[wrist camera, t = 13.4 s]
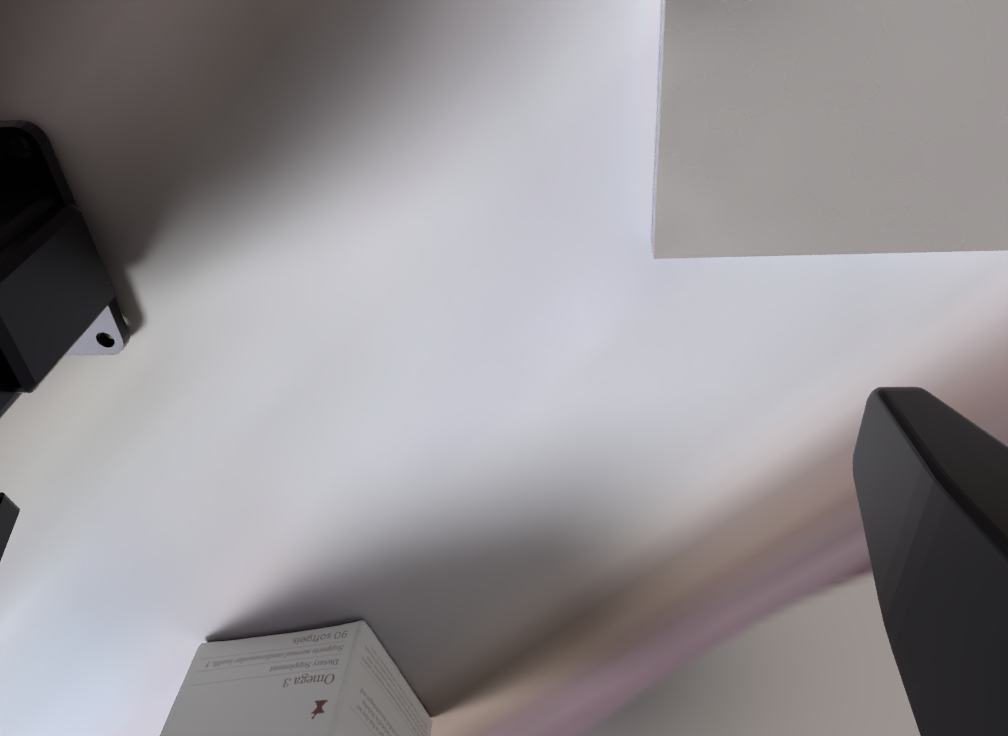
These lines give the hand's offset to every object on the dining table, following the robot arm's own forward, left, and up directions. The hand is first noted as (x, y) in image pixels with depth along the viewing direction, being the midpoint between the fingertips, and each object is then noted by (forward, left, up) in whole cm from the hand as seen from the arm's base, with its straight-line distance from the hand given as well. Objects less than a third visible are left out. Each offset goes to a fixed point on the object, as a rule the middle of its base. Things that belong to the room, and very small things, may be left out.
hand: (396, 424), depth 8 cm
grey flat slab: (+8, -1, -12) cm, 14 cm away
